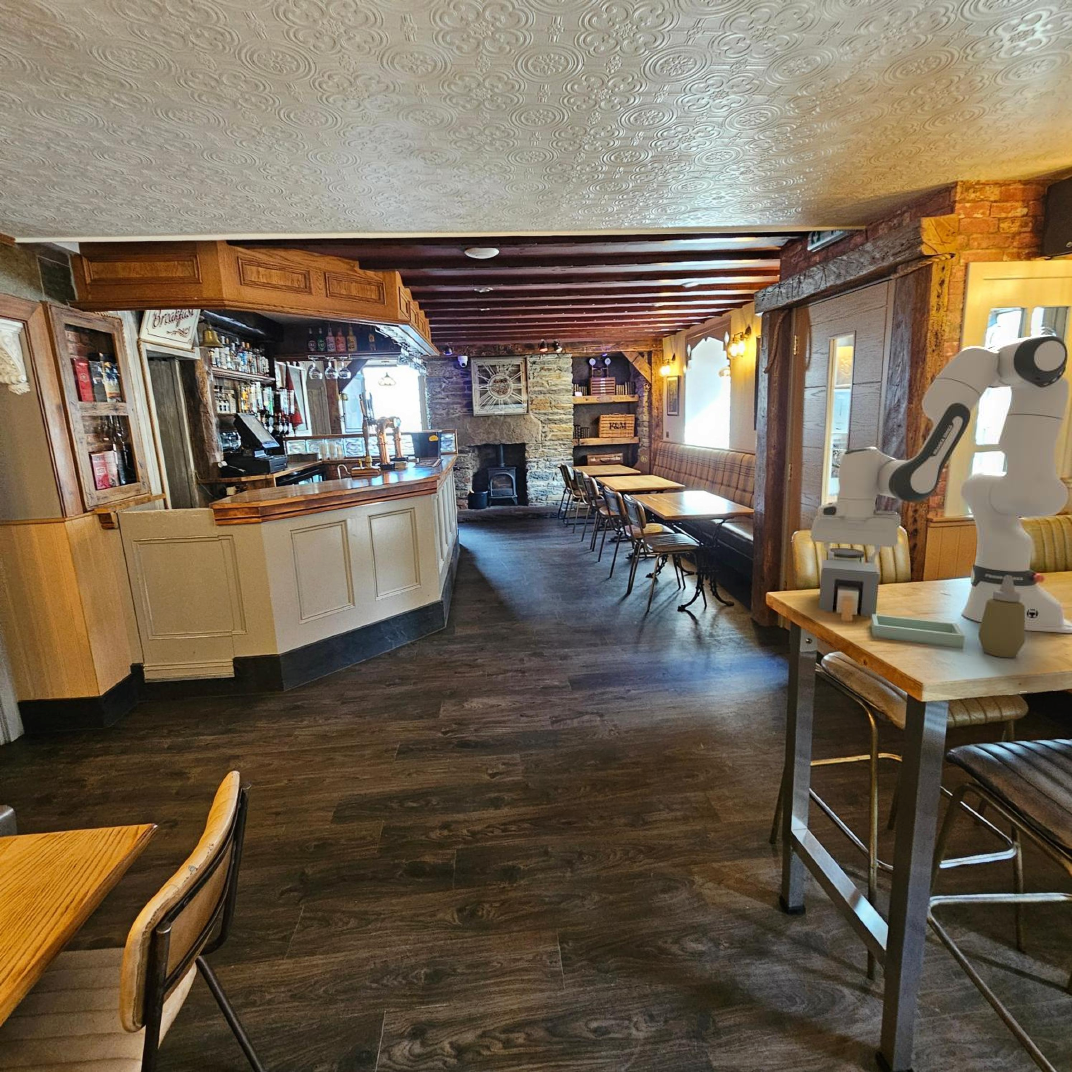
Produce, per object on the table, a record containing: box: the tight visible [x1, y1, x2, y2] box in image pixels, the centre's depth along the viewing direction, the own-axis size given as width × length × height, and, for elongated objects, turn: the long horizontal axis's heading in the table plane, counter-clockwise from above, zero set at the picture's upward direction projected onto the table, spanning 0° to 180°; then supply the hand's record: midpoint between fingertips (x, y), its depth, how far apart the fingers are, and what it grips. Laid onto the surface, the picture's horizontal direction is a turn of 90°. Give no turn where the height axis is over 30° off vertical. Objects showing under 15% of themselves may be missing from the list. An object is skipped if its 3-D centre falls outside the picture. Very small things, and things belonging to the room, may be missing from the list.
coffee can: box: [826, 547, 866, 563], centre depth 174 cm, size 10×10×14 cm
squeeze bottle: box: [978, 575, 1026, 659], centre depth 126 cm, size 8×8×18 cm
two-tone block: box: [836, 585, 859, 622], centre depth 157 cm, size 5×13×6 cm, turn 152°
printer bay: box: [818, 559, 880, 617], centre depth 162 cm, size 14×13×12 cm
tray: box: [870, 613, 965, 649], centre depth 139 cm, size 18×10×3 cm, turn 62°
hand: (850, 560), depth 151 cm, fingers open, 8 cm apart
